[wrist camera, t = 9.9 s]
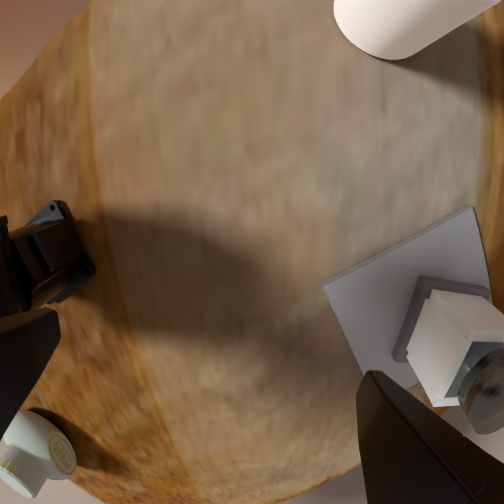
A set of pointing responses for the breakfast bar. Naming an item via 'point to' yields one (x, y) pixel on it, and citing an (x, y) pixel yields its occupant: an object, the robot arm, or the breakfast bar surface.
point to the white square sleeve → (447, 334)
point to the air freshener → (35, 454)
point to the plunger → (483, 390)
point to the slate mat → (402, 288)
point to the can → (402, 23)
